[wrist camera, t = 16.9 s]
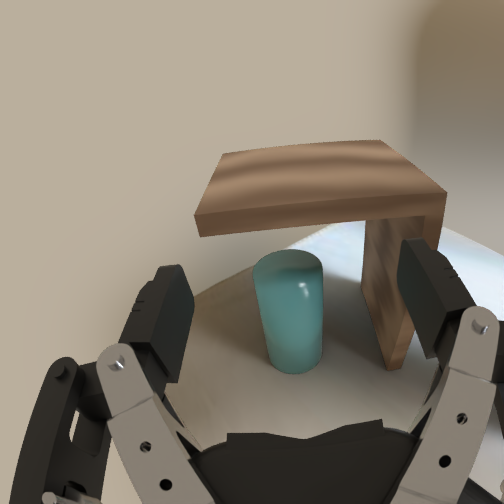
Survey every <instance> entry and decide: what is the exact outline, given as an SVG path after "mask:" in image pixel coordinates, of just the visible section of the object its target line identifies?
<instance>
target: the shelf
mask: <svg viewBox="0 0 504 504" xmlns="http://www.w3.org/2000/svg"><path fill="white" fill-rule="evenodd" d="M446 198H447V192H446V191H445V190H444V189H443V188H441V187H440V186H439V185H438V184H437V183H436V182H434V181H433V180H432V179H431V178H430V177H428V176H427V175H426V174H425V173H423V172H422V171H421V170H420V169H418V168H417V167H416V166H415V165H413V164H412V163H411V162H409V161H408V160H407V159H406V158H404V157H403V156H402V155H400V154H399V153H398V152H396V151H395V150H394V149H392V148H391V147H389V146H388V145H387V144H385V143H384V142H382V141H381V140H359V141H340V142H323V143H310V144H298V145H288V146H279V147H270V148H261V149H254V150H246V151H239V152H232V153H225V154H223V155H222V157H221V159H220V161H219V163H218V165H217V167H216V169H215V171H214V173H213V175H212V178H211V180H210V182H209V184H208V186H207V188H206V190H205V192H204V194H203V197H202V199H201V201H200V203H199V205H198V208H197V210H196V212H195V214H194V217H195V221H196V225H197V228H198V232H199V236H200V237H207V236H215V235H224V234H232V233H242V232H251V231H260V230H270V229H280V228H289V227H299V226H310V225H320V224H330V223H341V222H352V221H363V220H366V223H365V241H364V255H363V268H362V279H361V289H362V292H363V294H364V297H365V300H366V303H367V306H368V309H369V313H370V316H371V319H372V322H373V325H374V328H375V332H376V335H377V338H378V342H379V345H380V348H381V352H382V355H383V359H384V362H385V366H386V370H387V371H390V370H395V369H400V368H401V366H402V363H403V361H404V358H405V356H406V353H407V350H408V348H409V345H410V342H411V340H412V337H413V334H414V331H415V327H414V325H413V322H412V320H411V317H410V315H409V312H408V310H407V308H406V305H405V303H404V301H403V298H402V296H401V294H400V291H399V289H398V285H397V277H396V275H397V268H398V261H399V255H400V248H401V242H402V240H404V239H411V238H420V237H422V238H424V240H425V241H426V242H427V244H428V245H429V247H430V248H431V250H435V249H436V250H437V248H438V244H439V239H440V234H441V228H442V223H443V217H444V211H445V204H446Z"/></svg>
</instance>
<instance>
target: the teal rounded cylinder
mask: <svg viewBox="0 0 504 504" xmlns="http://www.w3.org/2000/svg"><path fill="white" fill-rule="evenodd" d="M253 280H254V285H255V290H256V295H257V300H258V305H259V310H260V315H261V320H262V325H263V330H264V335H265V340H266V345H267V350H268V355H269V359H270V362H271V363H272V365H273V366H274V367H275V368H276V369H278V370H279V371H281V372H284V373H288V374H300V373H304V372H307V371H309V370H311V369H312V368H313V367H315V366H316V365H317V364H318V362H319V361H320V359H321V356H322V339H323V268H322V264H321V262H320V260H319V259H318V258H317V257H316V256H315V255H313V254H311V253H309V252H306V251H302V250H295V249H288V250H281V251H277V252H273V253H271V254H268V255H266V256H265V257H263V258H262V259H260V260H259V261H258V263H256V265H255V266H254V269H253Z"/></svg>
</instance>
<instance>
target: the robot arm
mask: <svg viewBox="0 0 504 504" xmlns="http://www.w3.org/2000/svg"><path fill="white" fill-rule="evenodd" d="M396 277H397V285H398V289H399V291H400V294H401V296H402V298H403V301H404V303H405V305H406V308H407V310H408V312H409V315H410V317H411V320H412V322H413V325H414V327H415V330H416V332H417V335H418V338H419V340H420V343H421V346H422V348H423V351H424V354H425V357H426V359H430V358H434V357H437V358H438V360H439V364H438V366H437V368H436V371H435V374H434V376H433V379H432V382H431V384H430V387H429V389H428V392H427V394H426V396H425V399H424V401H423V403H422V406H421V408H420V410H419V412H418V414H417V416H416V417H415V419H414V421H413V423H412V424H411V426H410V428H409V430H408V432H405V431H402V430H398V429H393V428H384V427H383V422H382V419H379V420H374V421H368V422H363V423H357V424H351V425H345V426H342V427H340V428H337V429H334V430H332V431H329V432H326V433H323V434H321V435H318V436H315V437H312V438H308V439H298V438H292V437H286V436H280V435H274V434H269V433H227V442H223V443H219V444H216V445H213V446H211V447H209V448H207V449H205V450H203V449H202V447H201V446H200V445H199V443H198V442H197V441H196V440H195V438H194V437H193V436H192V435H191V433H190V432H189V430H188V429H187V427H186V426H185V424H184V422H183V421H182V419H181V418H180V416H179V414H178V413H177V411H176V409H175V407H174V406H173V404H172V402H171V401H170V399H169V397H168V395H167V394H166V392H165V387H166V383H178V379H179V375H180V370H181V365H182V361H183V356H184V352H185V348H186V343H187V339H188V334H189V330H190V326H191V322H192V317H193V313H194V297H193V294H192V291H191V289H190V286H189V284H188V282H187V279H186V276H185V274H184V271H183V268H182V267H181V266H180V265H179V264H177V265H168V266H160V267H159V268H158V270H157V273H156V275H155V277H154V280H153V281H148V282H147V283H146V285H145V286H144V287H143V288H142V289H141V290H140V292H139V294H138V296H137V298H136V301H135V304H134V305H133V308H132V312H130V315H129V317H128V319H127V322H126V324H125V327H124V329H123V332H122V334H121V337H120V339H119V342H118V344H114V345H111V346H109V347H108V348H106V349H105V350H104V351H103V352H102V353H101V354H100V356H99V358H98V360H97V361H96V362H92V363H88V364H84V365H80V366H79V365H78V364H77V363H76V362H75V361H74V359H72V358H70V357H62V358H60V359H58V360H56V361H55V362H54V363H53V364H52V365H51V366H50V368H49V370H48V372H47V374H46V377H45V379H44V382H43V384H42V387H41V390H40V393H39V395H38V398H37V401H36V404H35V406H34V409H33V412H32V415H31V418H30V421H29V424H28V427H27V431H26V434H25V437H24V441H23V444H22V448H21V451H20V455H19V459H18V463H17V467H16V472H15V476H14V481H13V485H12V490H11V495H10V501H9V504H102V503H101V495H102V488H103V482H104V476H105V470H106V464H107V458H108V453H109V448H110V443H111V438H113V441H114V443H115V446H116V448H117V451H118V453H119V455H120V458H121V460H122V462H123V465H124V467H125V469H126V471H127V473H128V475H129V478H130V479H131V481H132V484H133V486H134V488H135V490H136V492H137V494H138V496H139V498H140V499H141V501H142V503H143V504H504V480H503V481H502V483H501V485H500V490H501V492H502V493H503V494H502V498H501V500H498V499H497V498H496V497H494V496H493V495H491V494H490V493H489V492H487V491H486V490H485V489H483V488H482V487H481V486H479V485H478V484H477V483H475V482H474V481H473V480H471V479H470V478H469V477H468V476H469V474H470V472H471V469H472V467H473V464H474V462H475V459H476V456H477V454H478V451H479V448H480V445H481V442H482V439H483V436H484V433H485V430H486V427H487V423H488V420H489V416H490V413H491V409H492V405H493V401H494V403H495V406H496V410H497V414H498V417H499V421H500V425H501V429H502V434H503V438H504V321H498V319H497V318H496V316H495V315H494V314H493V313H492V312H491V311H490V310H488V309H486V308H484V307H480V306H477V305H476V304H475V302H474V300H473V299H472V297H471V295H470V293H469V292H468V290H467V289H466V287H465V285H464V284H463V282H462V281H461V279H460V277H458V274H457V273H456V271H455V270H454V269H453V267H452V265H451V264H450V262H449V261H448V259H447V258H446V257H445V256H444V255H443V254H441V253H440V252H439V251H437V250H436V249H435V250H431V248H430V247H429V245H428V244H427V242H426V241H425V240H424V238H422V237H420V238H411V239H404V240H402V242H401V248H400V255H399V261H398V268H397V275H396ZM75 410H76V411H78V412H79V413H80V414H79V417H78V421H77V424H76V429H75V432H74V436H73V440H72V442H71V440H70V437H69V432H70V428H71V424H72V421H73V417H74V414H75Z"/></svg>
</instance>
